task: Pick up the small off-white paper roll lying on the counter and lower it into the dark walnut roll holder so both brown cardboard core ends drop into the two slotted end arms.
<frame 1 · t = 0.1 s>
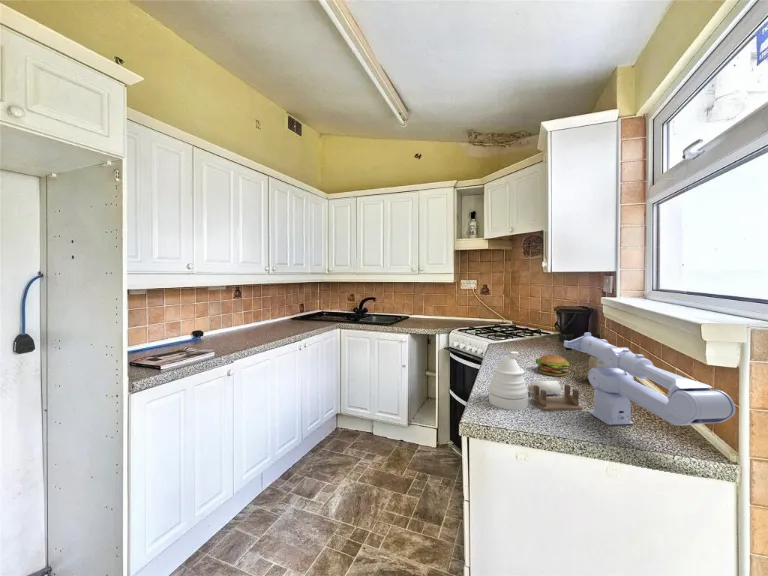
hand: (570, 336, 121), 22 cm above the worktop, tool horizontal, fingers open, 7 cm apart
food: (553, 373, 148), on the worktop
holder: (555, 405, 112), on the worktop
coffee box: (600, 383, 134), on the worktop
honey pot: (508, 402, 115), on the worktop
paper roll: (545, 387, 122), point 2 cm above the worktop
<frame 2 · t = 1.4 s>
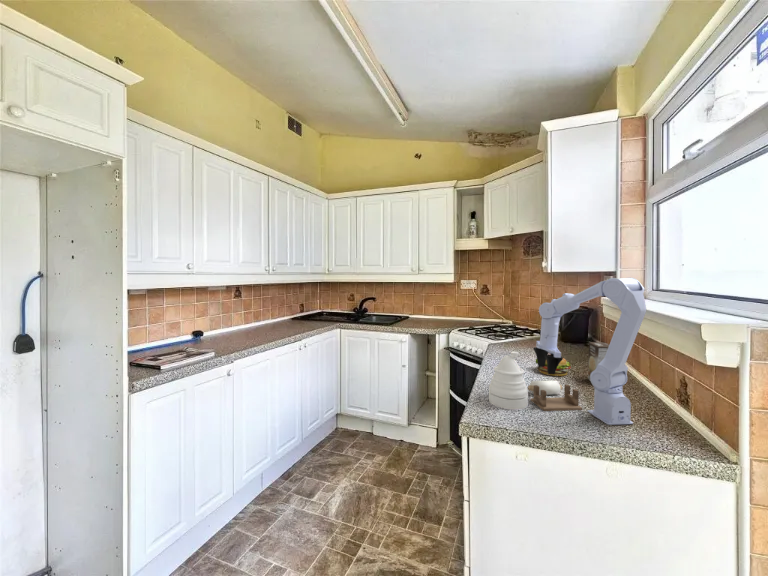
hand: (546, 370, 122), 9 cm above the worktop, tool pointing down, fingers open, 7 cm apart
nothing on the worktop moved.
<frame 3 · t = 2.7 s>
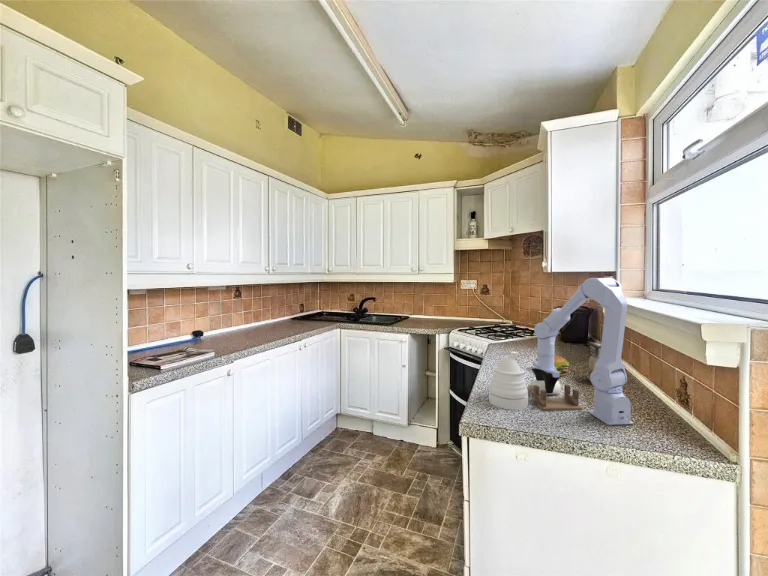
hand: (545, 390, 122), 1 cm above the worktop, tool pointing down, fingers closed on paper roll, 5 cm apart
paper roll: (545, 387, 122), point 2 cm above the worktop, touching gripper
everything else where it was.
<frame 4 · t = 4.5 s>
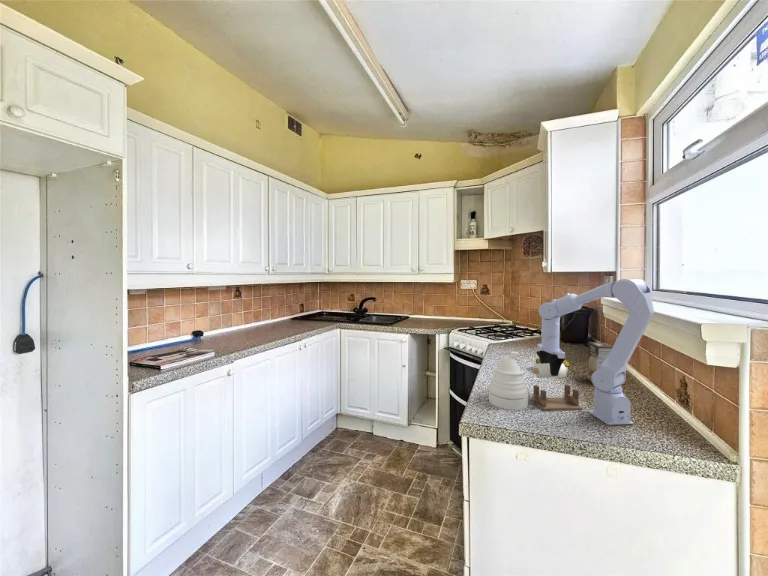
hand: (550, 373, 118), 9 cm above the worktop, tool pointing down, fingers closed on paper roll, 5 cm apart
paper roll: (550, 370, 118), point 10 cm above the worktop, touching gripper
everything else where it was.
when the fingers open (4 cm above the worktop, at t = 6.4 s): paper roll stays where it is, resting on holder.
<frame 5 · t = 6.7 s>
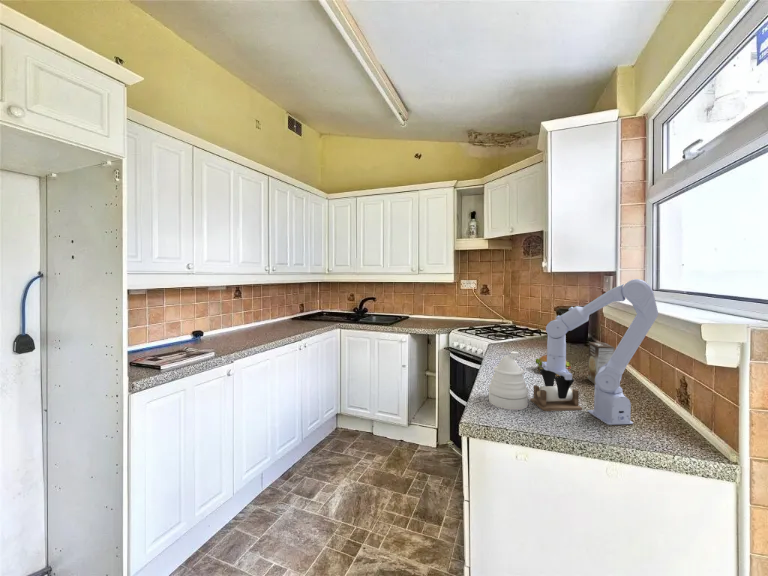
hand: (555, 393, 112), 4 cm above the worktop, tool pointing down, fingers open, 7 cm apart
paper roll: (555, 393, 112), point 4 cm above the worktop, touching holder
everything else where it was.
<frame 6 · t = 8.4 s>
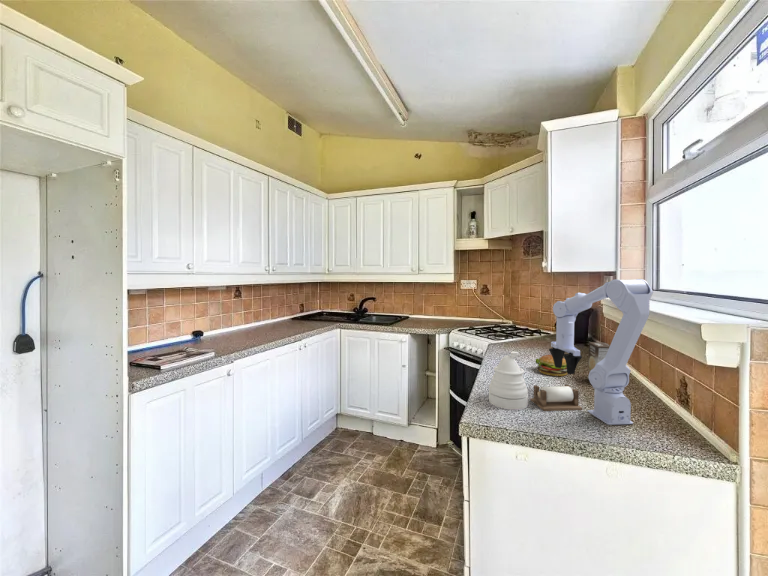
hand: (564, 370, 120), 9 cm above the worktop, tool pointing down, fingers open, 7 cm apart
paper roll: (556, 394, 112), point 4 cm above the worktop, tilted 28°, touching holder
everything else where it was.
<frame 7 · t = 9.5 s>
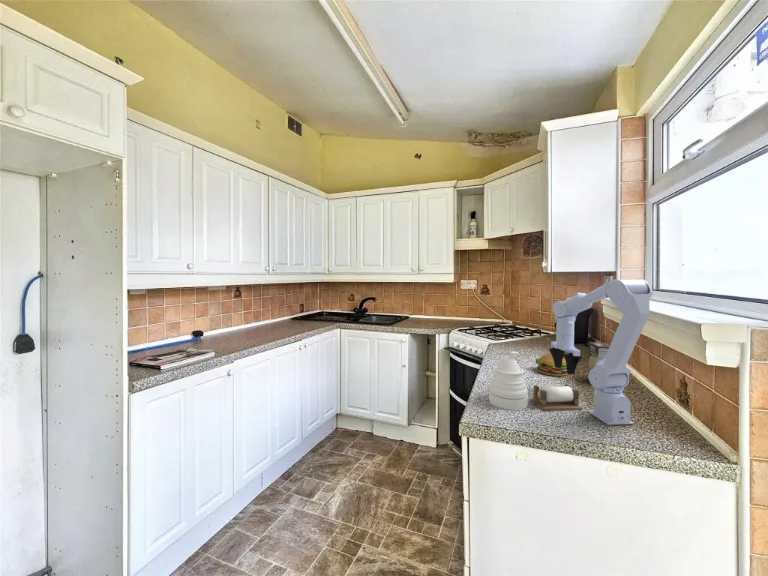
hand: (564, 370, 120), 9 cm above the worktop, tool pointing down, fingers open, 7 cm apart
nothing on the worktop moved.
at the end: paper roll 0.5 cm off-centre on the holder, point 4.0 cm above the holder's base; the gripper is holding nothing; paper roll touching holder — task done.
